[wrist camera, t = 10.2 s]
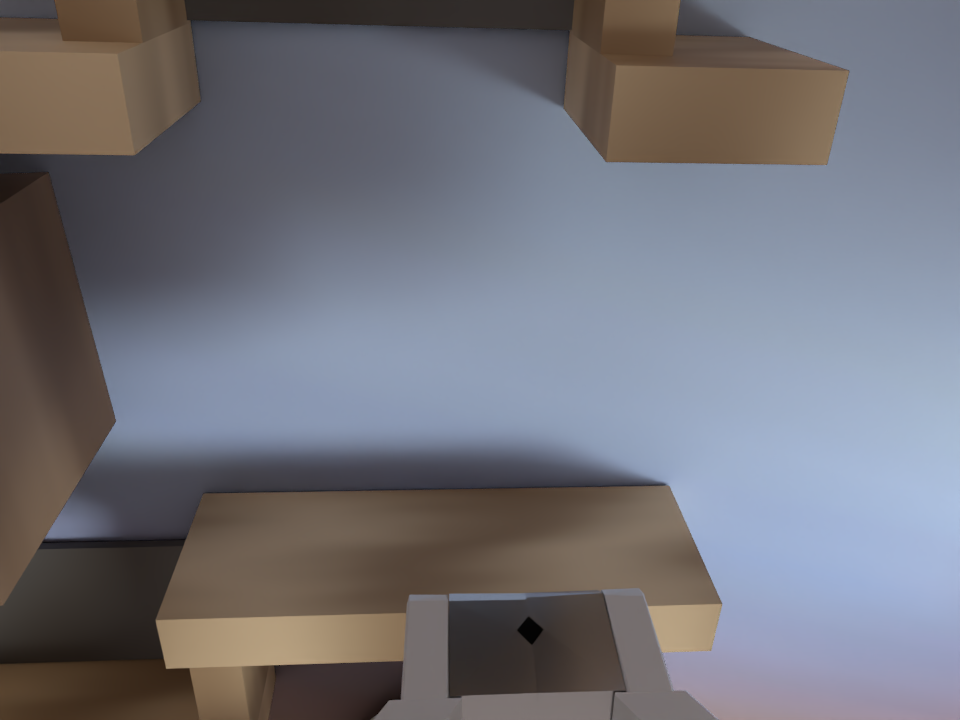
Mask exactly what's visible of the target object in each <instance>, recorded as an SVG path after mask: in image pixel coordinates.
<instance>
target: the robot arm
mask: <svg viewBox="0 0 960 720" xmlns="http://www.w3.org/2000/svg"><path fill="white" fill-rule="evenodd" d="M373 720H718V719H717V718H716V717H715V716H714V715H713V714H712V713H710V712H709V711H708V710H707V709H706V708H705V707H704V706H703V705H701V704H700V703H699V702H698V701H697V700H696V699H695V698H693V697H692V696H691V695H690V694H689V693H688V692H687V691H674V690H673V687H672V683H671V680H670V677H669V674H668V670H667V667H666V664H665V661H664V657H663V654H662V651H661V648H660V644H659V641H658V638H657V635H656V631H655V628H654V625H653V622H652V618H651V615H650V612H649V609H648V605H647V602H646V599H645V596H644V593H643V592H642V591H641V590H640V589H639V588H629V589H605V590H601V591H599V590H587V591H560V592H534V593H480V594H449V600H448V595H409V598H408V602H407V610H406V626H405V642H404V658H403V674H402V690H401V700H389V701H388V702H387V703H386V705H385V706H384V707H383V708H382V710H381V711H380V712H379V713H378V714H377V716H376V717H375V718H374V719H373Z"/></svg>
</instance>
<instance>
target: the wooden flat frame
mask: <svg viewBox="0 0 960 720" xmlns="http://www.w3.org/2000/svg"><path fill="white" fill-rule="evenodd" d="M54 1H55V6H56V11H57V16H58V19H45V18H7V17H0V153H3V154H75V155H136V154H137V153H138V152H140V151H141V150H142V149H143V148H145V147H146V146H147V145H148V144H149V143H151V142H152V141H153V140H154V139H156V138H157V137H158V136H159V135H160V134H162V133H163V132H164V131H165V130H167V129H168V128H169V127H170V126H171V125H173V124H174V123H175V122H176V121H178V120H179V119H180V118H181V117H183V116H184V115H185V114H186V113H187V112H189V111H190V110H191V109H192V108H194V107H195V106H196V105H197V104H198V103H200V102H201V98H200V90H199V82H198V75H197V67H196V59H195V51H194V44H193V36H192V28H191V21H190V20H198V21H236V22H274V23H312V24H350V25H388V26H425V27H463V28H501V29H539V30H570V32H569V45H568V58H567V70H566V83H565V96H564V110H565V111H566V112H567V113H568V115H569V116H570V117H571V118H572V120H573V121H574V122H575V123H576V125H577V126H578V127H579V128H580V130H581V131H582V132H583V133H584V135H585V136H586V137H587V138H588V140H589V141H590V142H591V143H592V145H593V146H594V147H595V149H596V150H597V151H598V152H599V154H600V155H601V156H602V157H603V159H604V160H605V161H606V162H648V163H719V164H791V165H827V163H828V158H829V154H830V150H831V146H832V142H833V137H834V133H835V129H836V125H837V121H838V116H839V112H840V108H841V104H842V100H843V95H844V91H845V87H846V83H847V79H848V75H849V71H848V70H845V69H843V68H840V67H837V66H834V65H831V64H828V63H825V62H822V61H819V60H816V59H813V58H810V57H807V56H804V55H801V54H798V53H795V52H792V51H789V50H786V49H783V48H780V47H777V46H774V45H771V44H769V43H766V42H763V41H760V40H757V39H754V38H751V37H731V36H693V35H676V30H677V22H678V15H679V8H680V1H681V0H54ZM629 588H639V589H640V590H641V591H642V592H643V593H644V596H645V599H646V602H647V605H648V609H649V612H650V615H651V618H652V622H653V625H654V628H655V631H656V635H657V638H658V641H659V644H660V648H661V651H662V652H690V651H711V649H712V645H713V641H714V637H715V632H716V628H717V624H718V620H719V616H720V611H721V607H722V602H721V600H720V598H719V596H718V593H717V591H716V589H715V587H714V584H713V582H712V580H711V578H710V576H709V573H708V571H707V569H706V567H705V564H704V562H703V560H702V558H701V556H700V553H699V551H698V549H697V547H696V544H695V542H694V540H693V538H692V535H691V533H690V531H689V529H688V527H687V524H686V522H685V520H684V518H683V515H682V513H681V511H680V509H679V506H678V504H677V502H676V500H675V498H674V495H673V493H672V491H671V489H670V486H615V487H556V488H497V489H438V490H379V491H320V492H261V493H203V495H202V498H201V501H200V503H199V506H198V509H197V511H196V514H195V517H194V519H193V522H192V525H191V527H190V530H189V533H188V535H187V538H186V540H161V541H114V542H67V543H41V544H40V546H39V548H38V549H37V551H36V553H35V554H34V556H33V558H32V559H31V561H30V562H29V564H28V566H27V567H26V569H25V571H24V572H23V574H22V576H21V577H20V579H19V580H18V582H17V584H16V585H15V587H14V589H13V590H12V592H11V593H10V595H9V597H8V598H7V600H6V602H5V603H4V605H2V606H0V720H268V718H269V713H270V707H271V702H272V697H273V691H274V686H275V681H276V676H275V669H274V665H295V664H325V663H356V662H386V661H403V658H404V642H405V626H406V610H407V602H408V598H409V595H448V600H449V594H480V593H534V592H560V591H587V590H599V591H601V590H605V589H629Z"/></svg>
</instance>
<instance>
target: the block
mask: <svg viewBox="0 0 960 720" xmlns="http://www.w3.org/2000/svg"><path fill="white" fill-rule="evenodd" d="M115 422H116V419H115V415H114V412H113V408H112V404H111V401H110V397H109V393H108V390H107V386H106V382H105V379H104V375H103V371H102V367H101V364H100V360H99V356H98V353H97V349H96V345H95V342H94V338H93V334H92V331H91V327H90V323H89V320H88V316H87V312H86V308H85V305H84V301H83V297H82V294H81V290H80V286H79V283H78V279H77V275H76V272H75V268H74V264H73V261H72V257H71V253H70V249H69V246H68V242H67V238H66V235H65V231H64V227H63V224H62V220H61V216H60V213H59V209H58V205H57V201H56V198H55V194H54V190H53V187H52V183H51V179H50V176H49V172H32V173H0V606H2V605H4V603H5V602H6V600H7V598H8V597H9V595H10V593H11V592H12V590H13V589H14V587H15V585H16V584H17V582H18V580H19V579H20V577H21V576H22V574H23V572H24V571H25V569H26V567H27V566H28V564H29V562H30V561H31V559H32V558H33V556H34V554H35V553H36V551H37V549H38V548H39V546H40V544H41V543H42V541H43V540H44V538H45V536H46V535H47V533H48V531H49V530H50V528H51V527H52V525H53V523H54V522H55V520H56V518H57V517H58V515H59V513H60V512H61V510H62V509H63V507H64V505H65V504H66V502H67V500H68V499H69V497H70V496H71V494H72V492H73V491H74V489H75V487H76V486H77V484H78V482H79V481H80V479H81V478H82V476H83V474H84V473H85V471H86V469H87V468H88V466H89V465H90V463H91V461H92V460H93V458H94V456H95V455H96V453H97V451H98V450H99V448H100V447H101V445H102V443H103V442H104V440H105V438H106V437H107V435H108V433H109V432H110V430H111V429H112V427H113V425H114V424H115Z"/></svg>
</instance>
